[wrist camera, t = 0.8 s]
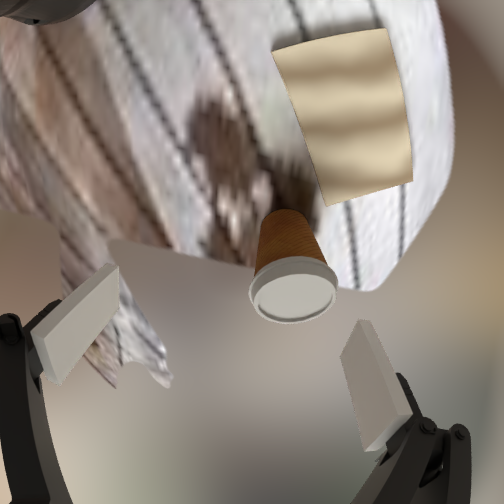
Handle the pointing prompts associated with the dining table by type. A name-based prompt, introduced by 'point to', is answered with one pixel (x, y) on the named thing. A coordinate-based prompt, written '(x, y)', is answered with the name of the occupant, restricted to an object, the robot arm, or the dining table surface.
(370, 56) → the serving board
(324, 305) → the disposable coffee cup
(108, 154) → the dining table surface
